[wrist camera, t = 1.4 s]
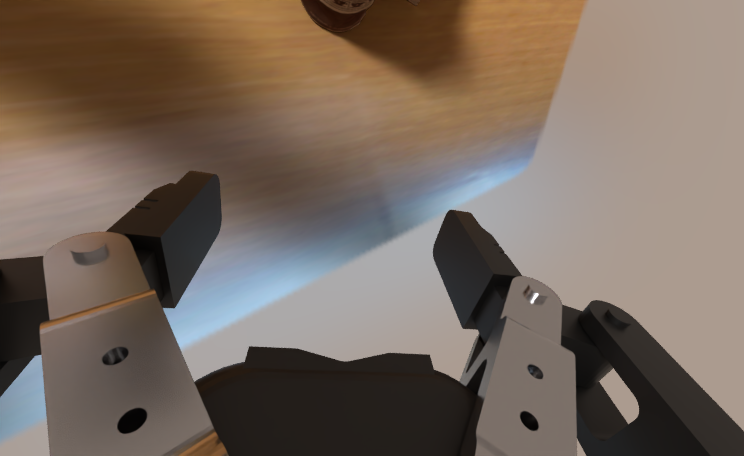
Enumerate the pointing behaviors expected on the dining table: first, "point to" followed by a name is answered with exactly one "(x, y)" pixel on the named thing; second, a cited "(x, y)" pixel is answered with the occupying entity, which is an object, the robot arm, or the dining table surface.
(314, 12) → the coffee cup
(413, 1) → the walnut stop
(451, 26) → the dining table surface
